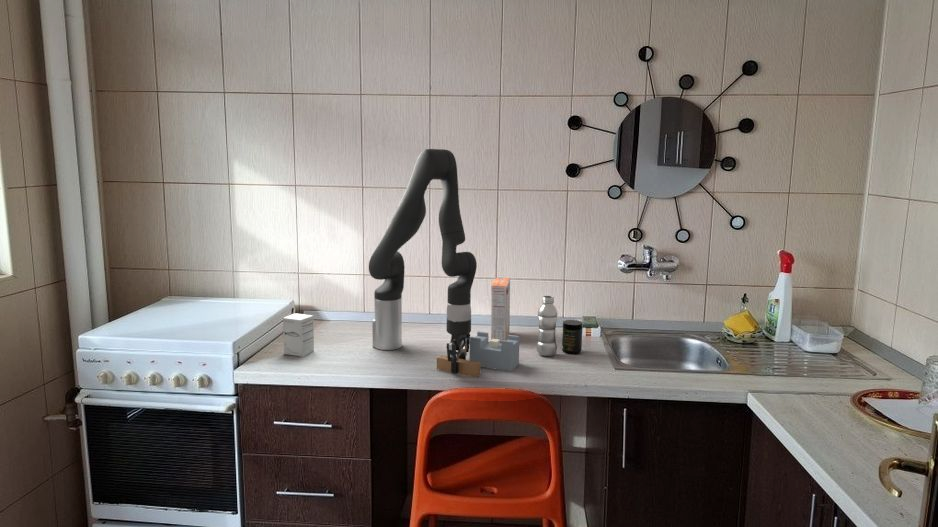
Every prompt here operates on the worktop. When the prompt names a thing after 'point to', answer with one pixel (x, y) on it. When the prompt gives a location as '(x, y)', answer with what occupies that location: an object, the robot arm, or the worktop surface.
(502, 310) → the cracker box
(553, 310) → the plastic bottle
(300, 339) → the supplement box
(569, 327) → the supplement container
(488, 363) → the notched gray block
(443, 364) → the frame bar
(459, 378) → the worktop surface
